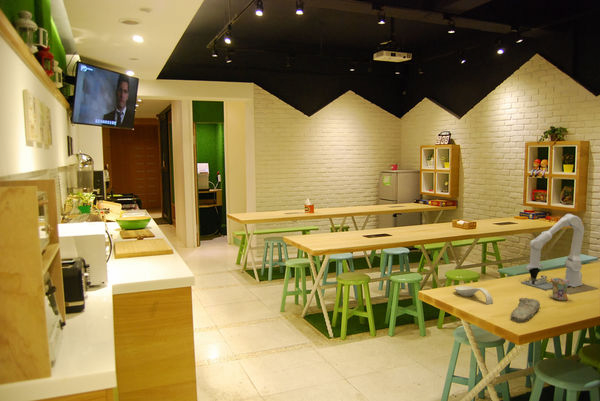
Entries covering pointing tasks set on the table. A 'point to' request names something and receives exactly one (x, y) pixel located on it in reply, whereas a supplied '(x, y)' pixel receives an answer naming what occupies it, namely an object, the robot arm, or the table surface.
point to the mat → (540, 285)
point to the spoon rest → (473, 292)
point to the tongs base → (534, 280)
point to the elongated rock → (525, 310)
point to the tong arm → (541, 280)
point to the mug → (559, 288)
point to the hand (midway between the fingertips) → (533, 279)
